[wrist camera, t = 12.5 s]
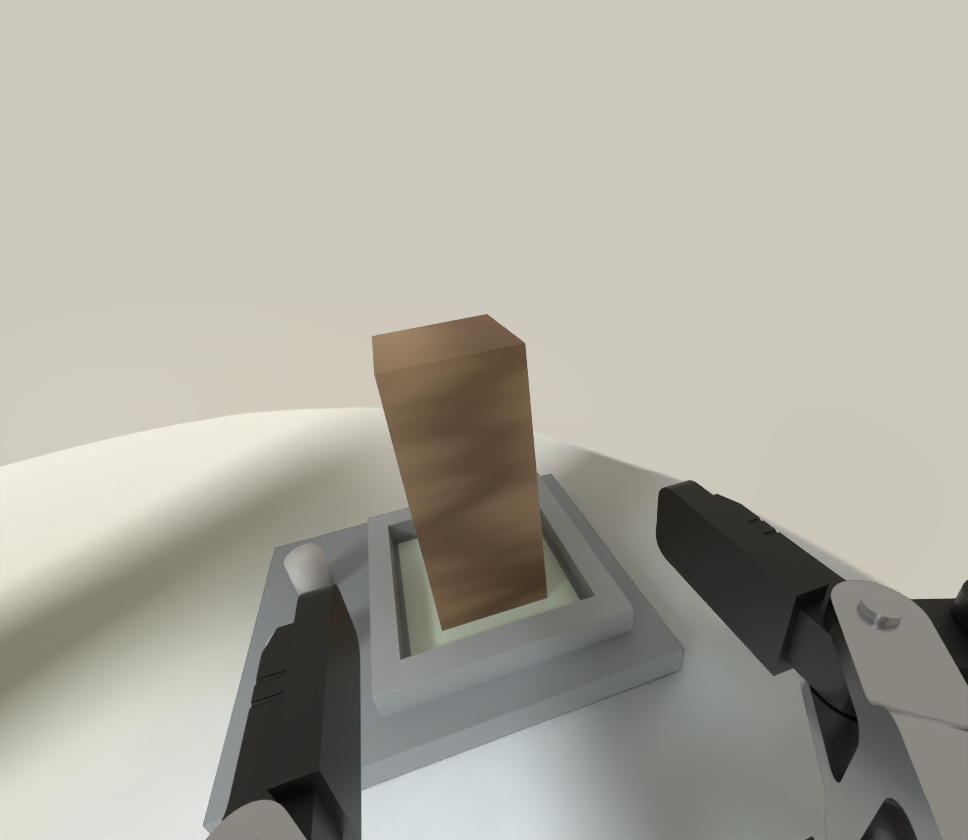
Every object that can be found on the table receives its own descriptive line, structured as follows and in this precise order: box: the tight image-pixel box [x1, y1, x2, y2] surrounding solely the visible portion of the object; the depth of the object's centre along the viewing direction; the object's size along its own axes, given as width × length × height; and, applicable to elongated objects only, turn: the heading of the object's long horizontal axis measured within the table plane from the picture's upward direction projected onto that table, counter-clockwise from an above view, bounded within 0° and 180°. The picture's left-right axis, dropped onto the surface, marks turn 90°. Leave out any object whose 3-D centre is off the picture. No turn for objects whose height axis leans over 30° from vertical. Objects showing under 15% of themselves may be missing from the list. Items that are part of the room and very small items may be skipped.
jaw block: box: [372, 314, 548, 631], centre depth 17 cm, size 4×4×11 cm
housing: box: [203, 473, 684, 834], centre depth 19 cm, size 16×12×3 cm
